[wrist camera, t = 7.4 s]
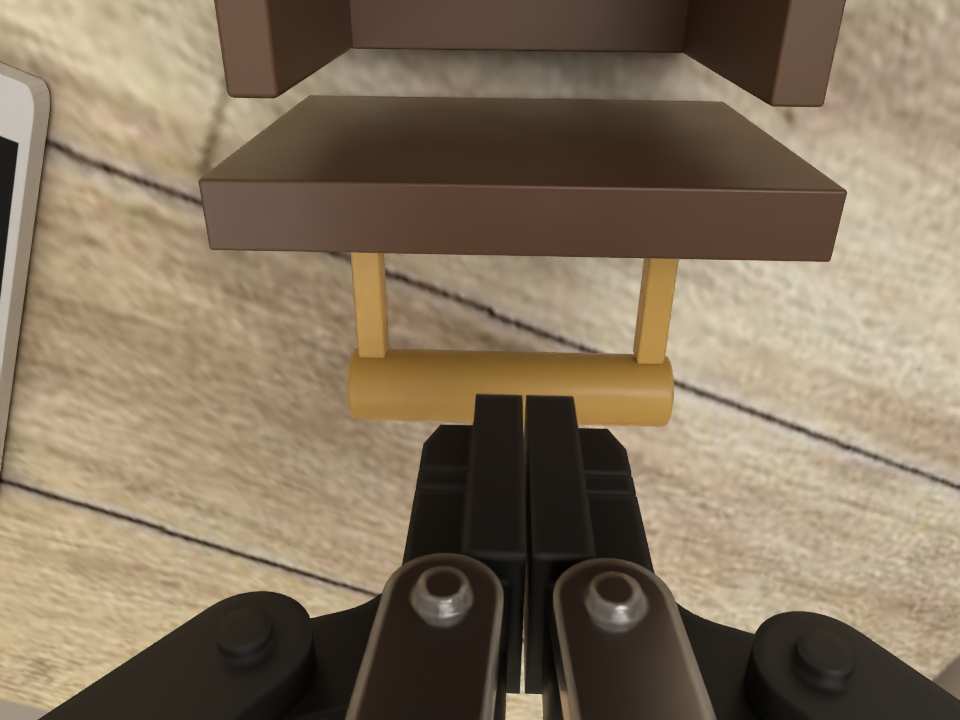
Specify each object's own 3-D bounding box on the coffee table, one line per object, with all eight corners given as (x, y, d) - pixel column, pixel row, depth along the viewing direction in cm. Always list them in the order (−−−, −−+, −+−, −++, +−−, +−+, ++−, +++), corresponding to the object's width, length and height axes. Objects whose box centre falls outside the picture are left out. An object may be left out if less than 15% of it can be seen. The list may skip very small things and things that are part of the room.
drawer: (688, 329, 22) (772, 505, 15) (329, 321, 22) (249, 491, 15) (815, -490, 14) (1119, -915, 7) (252, -489, 14) (12, -901, 7)
